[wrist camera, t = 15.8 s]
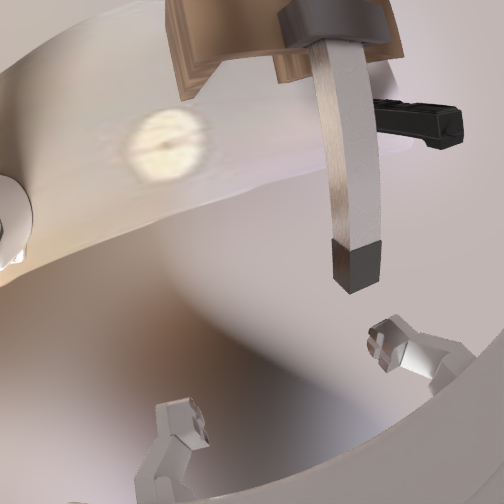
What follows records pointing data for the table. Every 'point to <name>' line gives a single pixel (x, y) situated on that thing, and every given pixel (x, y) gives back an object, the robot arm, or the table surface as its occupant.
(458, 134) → the portable radio
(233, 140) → the table surface
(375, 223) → the steel pull bar
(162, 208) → the table surface
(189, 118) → the table surface
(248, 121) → the table surface
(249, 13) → the walnut shelf stand
